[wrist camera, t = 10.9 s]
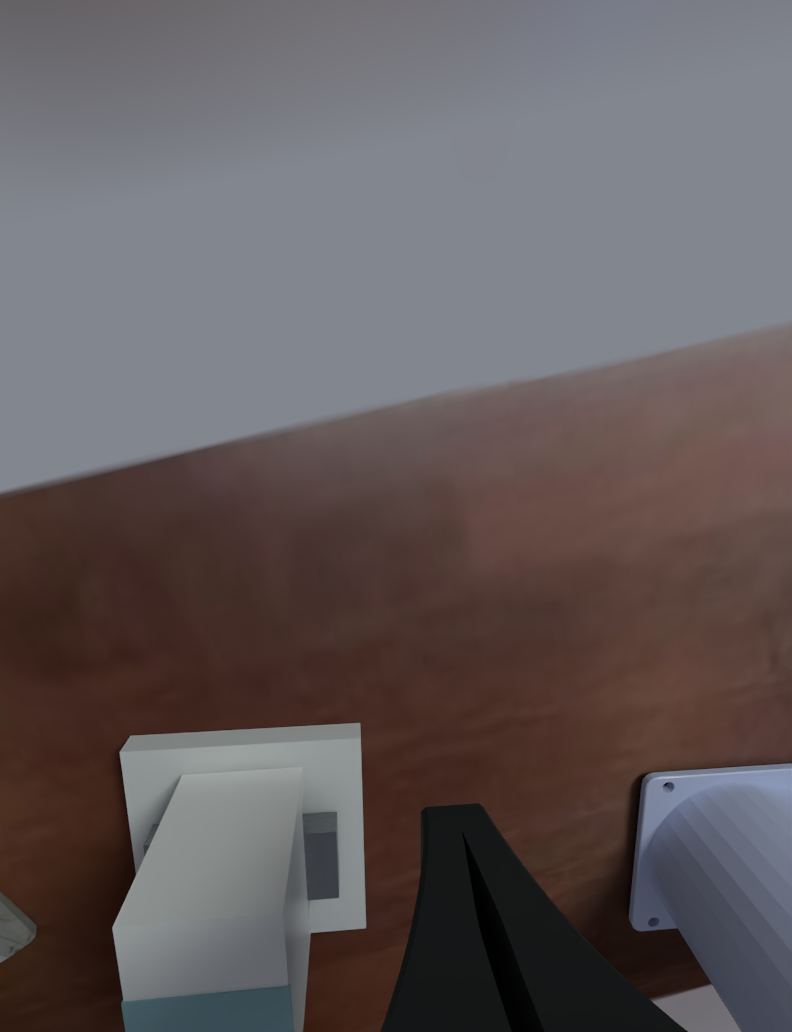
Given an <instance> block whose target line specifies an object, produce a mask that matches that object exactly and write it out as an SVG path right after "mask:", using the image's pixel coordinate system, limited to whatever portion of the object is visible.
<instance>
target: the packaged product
mask: <svg viewBox="0 0 792 1032" xmlns="http://www.w3.org/2000/svg"><path fill="white" fill-rule="evenodd" d="M36 928H37V925H36V924H35V923H34V922H33V921H31V920H30V919H29V918H28V917H27V916H26V915H25V914H24V913H23V912H22V911H21V910H20V909H19V908H18V907H17V906H16V905H14V904H13V903H12V902H11V901H10V900H9V899H8V898H7V897H6V896H5V895H3V894H2V893H1V892H0V963H1V962H2V961H4V960H6V959H7V958H9V957H10V956H12V955H13V954H15V953H16V952H18V951H19V950H20V949H22V948H23V947H25V946H26V945H27V944H29V943H30V942H31V941H32V940H33V939H34V938H35V937H36Z"/></svg>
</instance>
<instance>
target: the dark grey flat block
mask: <svg viewBox="0 0 792 1032" xmlns="http://www.w3.org/2000/svg"><path fill="white" fill-rule="evenodd" d="M302 819H303V835H304V851H305V868H306V884H307V900H320V899H333V898H339V884H340V870H339V845H338V820H337V812H323V813H309V814H302ZM158 827H159V824H153V826H152V828H151V830H150V832H149V834H148V836H147V838H146V841H145V843H144V845H143V847H144V855H146V853H147V851H148V848H149V846H150V844H151V842H152V840H153V837H154V835H155V833H156V831H157V829H158Z"/></svg>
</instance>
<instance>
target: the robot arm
mask: <svg viewBox="0 0 792 1032" xmlns="http://www.w3.org/2000/svg"><path fill="white" fill-rule="evenodd" d="M665 783H668V784H667V785H666V786H663V785H664V784H665ZM629 921H630V923H631V925H632V927H633V928H634V929H635V930H637V931H651V930H663V929H674V928H678V930H679V931H680V933H681V935H682V936H683V938H684V939H685V941H686V943H687V944H688V946H689V947H690V949H691V951H692V952H693V954H694V956H695V957H696V959H697V960H698V962H699V964H700V965H701V967H702V969H703V970H704V972H705V973H706V975H707V977H708V978H709V980H710V981H711V983H712V985H713V986H714V988H715V989H716V991H717V993H718V994H719V996H720V998H721V999H722V1001H723V1002H724V1004H725V1006H726V1007H727V1009H728V1011H729V1012H730V1014H731V1015H732V1017H733V1018H734V1020H735V1022H736V1023H737V1025H738V1027H739V1028H740V1030H741V1032H792V763H789V764H774V765H759V766H744V767H729V768H714V769H699V770H684V771H669V772H654V773H650V774H648V775H646V776H645V777H644V779H643V781H642V784H641V795H640V805H639V815H638V826H637V836H636V846H635V857H634V867H633V877H632V887H631V898H630V908H629ZM381 1032H687V1031H686V1030H685V1029H684V1028H682V1027H681V1026H680V1025H679V1024H677V1023H676V1022H675V1021H674V1020H673V1019H671V1018H670V1017H669V1016H668V1015H667V1014H666V1013H665V1012H663V1011H662V1010H661V1009H660V1008H659V1007H657V1006H656V1005H655V1004H654V1003H653V1002H652V1001H651V1000H649V999H648V998H647V997H646V996H645V995H644V994H642V993H641V992H640V991H639V990H638V989H637V988H635V987H634V986H633V985H632V984H631V983H630V982H629V981H628V980H627V979H626V978H625V977H624V976H623V975H622V974H620V973H619V972H618V971H617V970H616V969H615V968H614V967H613V966H612V965H611V964H610V963H609V962H608V961H607V960H606V959H605V958H604V957H603V956H602V955H601V954H600V953H599V952H598V951H597V950H596V949H595V948H594V947H593V946H592V945H591V944H590V943H589V942H588V941H587V940H586V939H585V938H584V937H583V936H582V934H581V933H580V932H579V931H578V930H577V929H576V928H575V927H574V926H573V925H572V924H571V922H570V921H569V920H568V919H567V918H566V917H565V916H564V915H563V913H562V912H561V911H560V910H559V909H558V908H557V906H556V905H555V904H554V903H553V902H552V901H551V899H550V898H549V897H548V896H547V895H546V893H545V892H544V891H543V890H542V888H541V887H540V886H539V885H538V883H537V882H536V881H535V880H534V878H533V877H532V876H531V874H530V873H529V872H528V871H527V869H526V868H525V867H524V865H523V864H522V863H521V862H520V860H519V859H518V857H517V856H516V855H515V853H514V852H513V851H512V849H511V848H510V846H509V845H508V844H507V842H506V841H505V839H504V838H503V837H502V835H501V834H500V832H499V831H498V829H497V828H496V826H495V825H494V823H493V822H492V820H491V818H490V817H489V815H488V814H487V812H486V811H485V809H484V807H482V806H481V805H480V804H465V805H450V806H436V807H426V808H425V809H424V810H423V811H422V812H421V875H420V882H419V890H418V896H417V901H416V906H415V911H414V916H413V921H412V926H411V930H410V935H409V939H408V943H407V947H406V951H405V955H404V959H403V962H402V966H401V970H400V973H399V977H398V980H397V983H396V986H395V990H394V993H393V996H392V999H391V1002H390V1006H389V1009H388V1012H387V1015H386V1018H385V1021H384V1024H383V1026H382V1029H381Z"/></svg>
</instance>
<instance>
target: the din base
mask: <svg viewBox="0 0 792 1032" xmlns="http://www.w3.org/2000/svg"><path fill="white" fill-rule="evenodd" d="M120 759H121V767H122V774H123V782H124V789H125V796H126V804H127V811H128V819H129V826H130V834H131V841H132V848H133V856H134V863H135V871H136V875H137V872H138V870H139V868H140V866H141V864H142V862H143V859H144V857H145V855H144V847H143V845H144V843H145V841H146V838H147V836H148V834H149V832H150V830H151V828H152V826H153V824H160V822H161V820H162V818H163V816H164V813H165V811H166V809H167V807H168V805H169V803H170V800H171V798H172V796H173V794H174V792H175V789H176V787H177V785H178V783H179V781H180V778H181V776H182V775H188V774H203V773H218V772H233V771H248V770H263V769H278V768H293V767H303V777H304V796H303V804H302V814H309V813H323V812H337V820H338V845H339V870H340V884H339V898H333V899H320V900H311V910H312V922H311V933H316V932H327V931H339V930H351V929H363V928H366V906H365V871H364V835H363V800H362V764H361V729H360V723H350V724H332V725H314V726H296V727H279V728H261V729H243V730H226V731H208V732H190V733H173V734H155V735H137V736H130V737H129V739H128V740H127V742H126V743H125V745H124V746H123V748H122V749H121V751H120Z"/></svg>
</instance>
